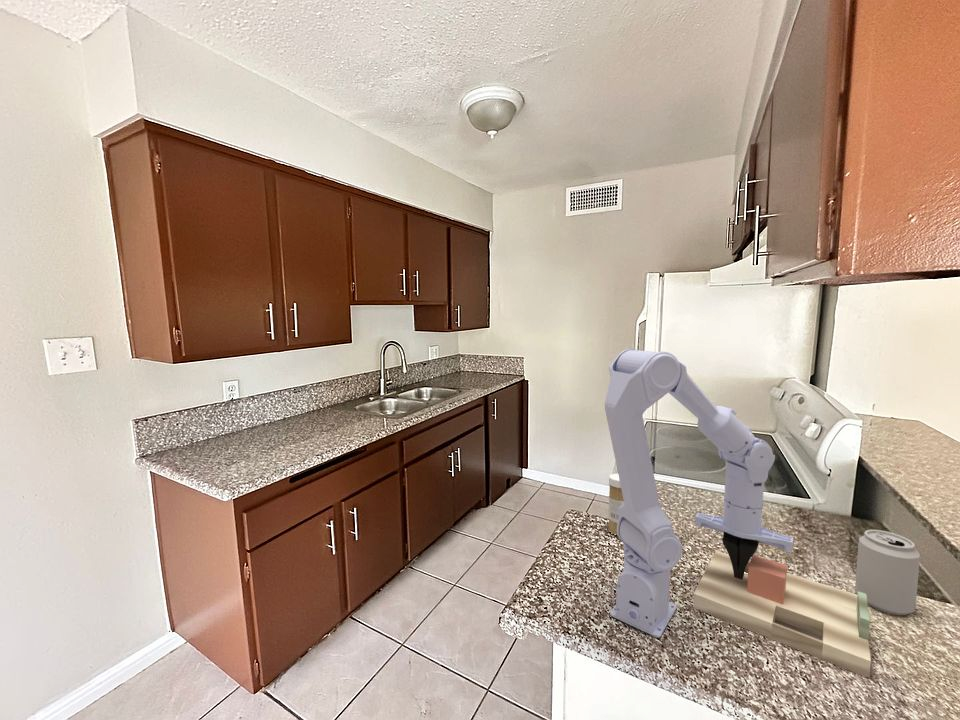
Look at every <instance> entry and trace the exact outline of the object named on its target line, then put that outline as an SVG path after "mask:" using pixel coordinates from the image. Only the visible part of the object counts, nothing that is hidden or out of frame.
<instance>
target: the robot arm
mask: <svg viewBox="0 0 960 720" xmlns="http://www.w3.org/2000/svg"><path fill="white" fill-rule="evenodd" d="M608 371H609V377H610V380H609V382H608V383H609V385H608V388H607V392H606V397H605V403H604V411H605V414H606V415H605V416H606V420H607V426H608V431H609V434H610V440H611V444H612V451H613V455H614V460H615V464H616V469H617V474H618V475H619V480H620V485H621V490H622V495H623V499H624V504H623V505H621V506H620V507H619V508H618V514H619V520H618V524H617V534H618V536H617V537H618V538H619V540H621V542H623V543H622V545H623V546H622V549H623V553H624V554H623V555H624V557H623V569H622V571H621V574H620V575H619V577H618V578H617V581H616V592H615V593H616V594H615V605H614V606H613V608H611V610H610V611H609V615H610V616H611V617H612V618H615V619H617V620H619V621H621V622H623V623H626V624H628V625H630V627H631V626H632V627H634V628H636V629H638V630H640V631H643V632H645V633H647V634H648V635H651V636H653V637H655V638H661V637H662V635H663V633H664V631H665V630H666V627H667V625H668V624H669V623H670V621H671V619H672V617H673V615H674V613H675V612H676V610H677V604H675V603H673V602H670V588H671V586H670V585H671V582H670V581H671V571H673V570H674V568H675V566H677V565H678V563H679V561H680V560H681V557H682V554H683V547H682V542H681V539H679V537H678V536H677V535H676V533H675V531H674V528H673V523H672V522H671V520H670V519H669V517H668V516H667V515H666V513H665V511H664V510H663V508H662V507H661V505H660V500H659V494H658V489H657V484H656V479H655V474H654V468H653V464H652V458H651V453H650V448H649V442H648V437H647V432H646V431H647V430H646V427H645V421H644V416H643V415H644V413H646V410H647V409H649V408H650V407H653V405H654V404H656V403H657V402H658V401H660V400H661V399H662V398H663V397H665V396H667V394H669V395H671V397H673V398H674V399H675V400H677V401H678V403H680V404H681V405H682V406H683V407H684V408H685V409H686V410H688V411H689V412H690V413H691V414H692V415H693V416H694V417H696V418H697V428H698V430H699V431H700V432H701V433H702V434H703V435H704V436H705V437H706V438H707V439H708V440H709V441H710V442H711V443H712V444H713V446H715V447H716V448H717V453H718V456H719V459H721V460H723V461H725V481H724V495H723V496H724V499H723V516H720V515H719V516H717V515H712V514H706V513H701V512H697V513H696V514H695V519H694V526H695V527H698V528H702V527H703V528H707V529H709V530H710V529H711V530H714V531H718V532H721V533H723V535H722V539H721V542H722V545H723V546H724V548H725V550H726V552H727V554H728V555H729V557H730V560H731V563H732V567H733V572H734V577H735V578H738V579H741V580H742V579H743V577H744V572H745V568H746V565H747V563H748V562H749V561H751V558H752V556H753V555H755V553H756V551H757V549H758V548H759V544H764V545H767V546H771V547H774V548H778V549H781V550H783V551H784V552H786V553H789V554H793V549H794V547H793V546H794V537H791V536H788V535H785V534H782V533H780V532H777V531H774V530H771V529H769V528H766V527H764V526H762V524H763V522H762V521H763V506H764V505H763V504H764V492H765V491H764V488H765V487H764V486H765V482H767V480H768V478H769V472H770V470H771V468H772V467H773V464H774V463H775V459H776V455H775V454H774V453H773V449H772V447H771V446H770V444H769V443H768V441H766V440H765V439H761V438H759V437H755V435H754V433H752V432H753V430H752V429H751V428H750V427H749V426H746V425H745V424H743V422H742V421H741V420H740V419H738V417H736V415H737V412H736V411H735V410H734V409H733V408H730V407H727V406H723V405H715V404H714V403H713V402H712V401H711V400H710V398H709V397H708V396H707V395H706V393H705V392H704V391H703V390H702V389H701V388H700V386H698V384H697V383H696V382H695V381H694V380H693V378H692V377H691V376H690V375H689V374H688V371H687V366H686V365H685V364H684V363H682V362H680V361H679V360H678V358H677V356H675V355H674V354H672V353H670V352H667V351H648V350H639V349H636V348H635V349H634V348H627V349H624V350H622V351H621V352H620V353H618V354H617V356H616V357H614V360H613V361H612V362H611V364H610V365H609V366H608Z"/></svg>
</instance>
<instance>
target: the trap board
mask: <svg viewBox="0 0 960 720" xmlns="http://www.w3.org/2000/svg"><path fill="white" fill-rule="evenodd" d="M750 561H751V560H749V562H748V563H747V565H746V568H745V572H746V573H748V567H749V564H750ZM747 584H748V575H747V574H744V577H743V579H742V580H741V579H738V578H735V577H734V572H733V567H732V563H731V560H730V557H729V554H728V553H726V552H722V551H718V550H715V551H714V554H713V555H712V558H711V559H710V561H709V563H708V565H707V567H706V569H705V571H704V573H703V575H702V577H701V579H700V580H699V582H698V585H697V586H696V588H695V590H694V591H693V595H692V596H693V598H692V600H693V601H692V608H693V609H695V610H698V611H701V612H704V613H705V614H708V615H709V616H710V615H711V616H712V617H716V618H718V619H721V620H723V621H726V622H728V623H731V624H733V625H735V626H738V627H739V628H743V629H745V630H748V631H751V632H752V633H756V634H758V635H760V636H763V637H765V638H767V639H770V640H773V641H775V642H778V643H780V644H782V645H786V646H788V647H789V648H791V649H792V648H793V649H795V650H797V651H800V652H803V653H805V654H807V655H810V656H812V657H814V658H817V659H820V660H823V661H824V662H826V663H829V664H833V665H834V664H835V666H837V667H840V668H842V669H845V670H847V671H849V672H852V673H854V674H857V675H859V674H861V675H860V676H862V675H863V676H862V677H864V676H866V677H865V678H867V677H868V678H867V679H870V677H871V667H872V666H871V663H872V659H871V651H870V644H869V639H870V638H869V635H870V634H869V633H870V623H871V620H870V619H871V618H870V612H869V604H868V603H867V596H866V594H865V593H862V592H859V591H858V594H857V593H853V592H850V591H847V590H844V589H840V588H838V587H833V586H831V585H828V584H824V583H821V582H818V581H814V580H811V579H808V578H805V577H802V576H799V575H795V574H792V573H789V572H787V575H786V590H785V596H784V602H783V604H780V603H777V602H774V601H771V600H769V599H766V598H763V597H760V596H757V595H754V594H752V593H749V592H747Z"/></svg>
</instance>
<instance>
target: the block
mask: <svg viewBox="0 0 960 720" xmlns="http://www.w3.org/2000/svg"><path fill="white" fill-rule="evenodd" d="M749 561H750V564H749V567H748V584H747V592H749V593H752V594H754V595H757V596H760V597H763V598H766V599H769V600H771V601H774V602H777V603H780V604H783V602H784V596H785V590H786V575H787V573H788V564H785V563H782V562H778V561H775V560H771V559H768V558H765V557H761V556H758V555H755V554H753V556H752V557H751V558H750V560H749Z"/></svg>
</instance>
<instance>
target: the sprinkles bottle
mask: <svg viewBox="0 0 960 720" xmlns="http://www.w3.org/2000/svg"><path fill="white" fill-rule="evenodd" d="M608 486H609V493H608V494H609V495H608V528H607V531H608V530H609V531H608V533H609V532H611V533H612V534H616V535H618V534H617V524H618V520H619V514H618V508H619V507H620V506H621V505H623V504H624V499H623V495H622V490H621V485H620V480H619V475H618V473H612V474H610V475H609V476H608ZM612 534H611V535H612Z"/></svg>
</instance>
